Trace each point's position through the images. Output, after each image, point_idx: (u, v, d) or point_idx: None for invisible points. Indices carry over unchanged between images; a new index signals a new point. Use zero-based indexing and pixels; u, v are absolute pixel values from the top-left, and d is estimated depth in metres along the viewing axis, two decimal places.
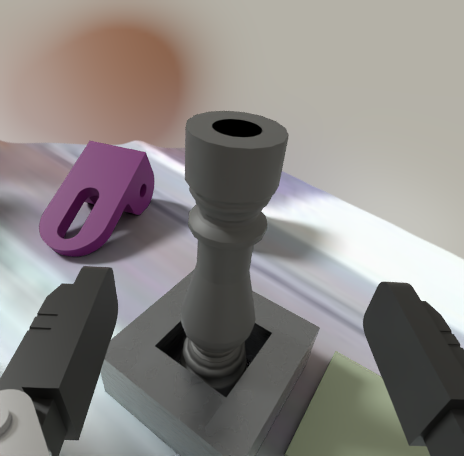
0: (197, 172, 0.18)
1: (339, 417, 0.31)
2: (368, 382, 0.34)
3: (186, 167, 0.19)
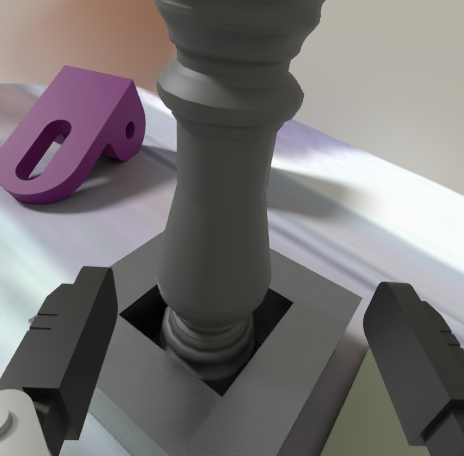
0: None
1: (386, 426, 0.21)
2: None
3: None
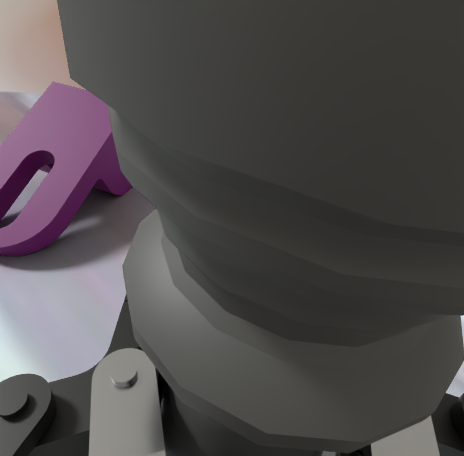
0: None
1: None
2: None
3: None
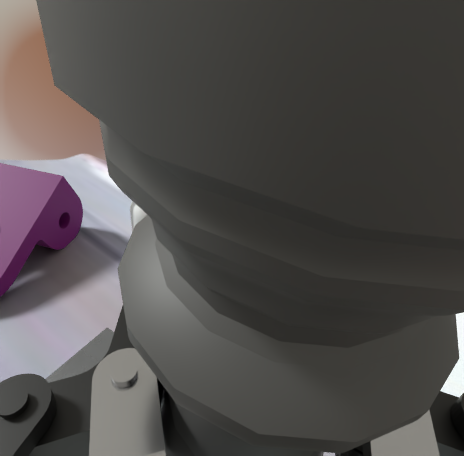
0: None
1: None
2: None
3: None
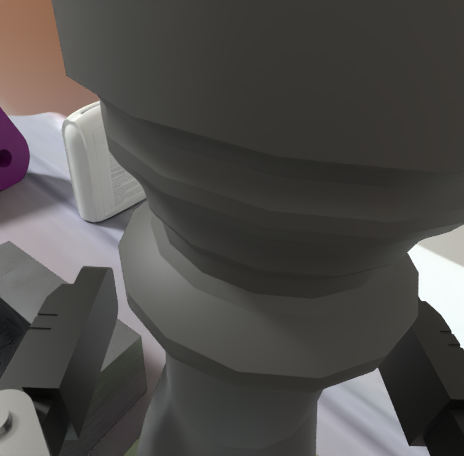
0: None
1: None
2: None
3: None
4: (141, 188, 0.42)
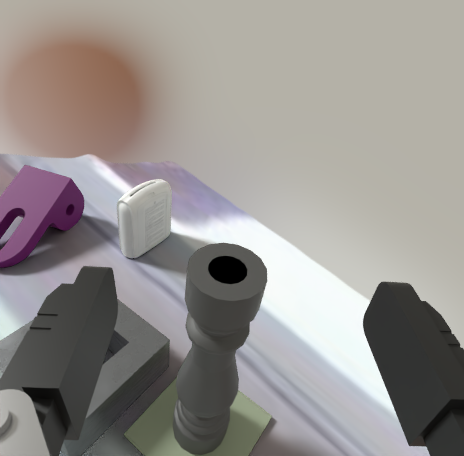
0: (193, 304, 0.24)
1: None
2: None
3: (186, 293, 0.25)
4: (162, 234, 0.62)
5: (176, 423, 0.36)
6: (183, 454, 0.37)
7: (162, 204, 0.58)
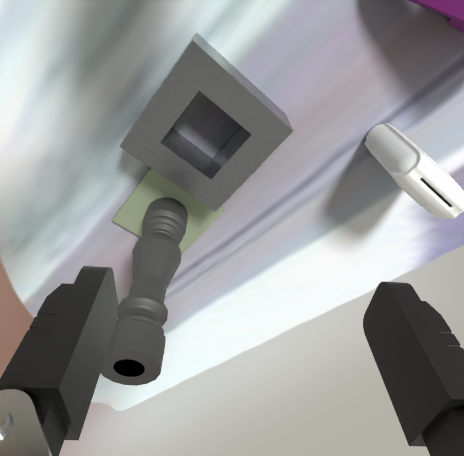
0: None
1: (177, 199, 0.50)
2: (200, 223, 0.52)
3: (124, 328, 0.31)
4: None
5: (152, 212, 0.47)
6: (145, 205, 0.50)
7: None
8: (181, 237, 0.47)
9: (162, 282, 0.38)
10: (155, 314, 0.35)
